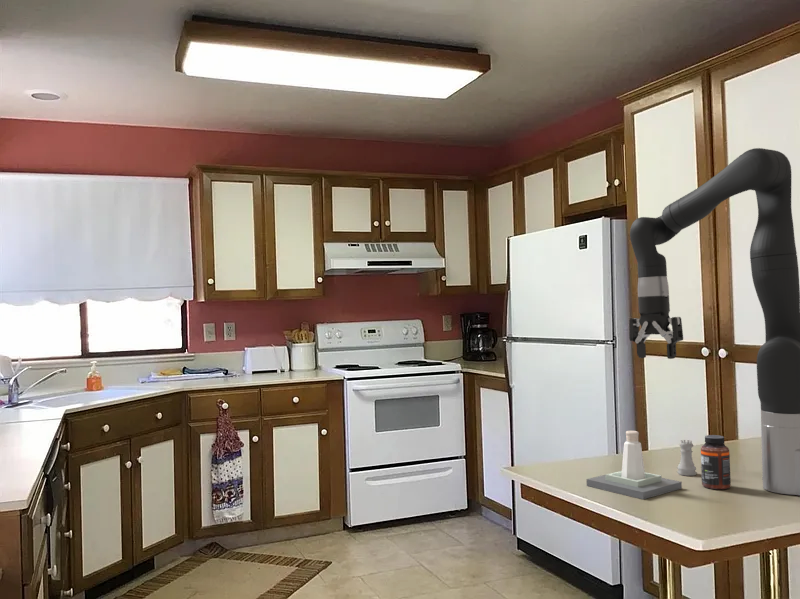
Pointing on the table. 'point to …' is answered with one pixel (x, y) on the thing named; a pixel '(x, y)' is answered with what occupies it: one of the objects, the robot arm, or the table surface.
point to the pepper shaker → (632, 457)
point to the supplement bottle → (715, 463)
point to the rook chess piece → (686, 459)
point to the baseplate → (635, 485)
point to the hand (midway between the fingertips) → (656, 358)
